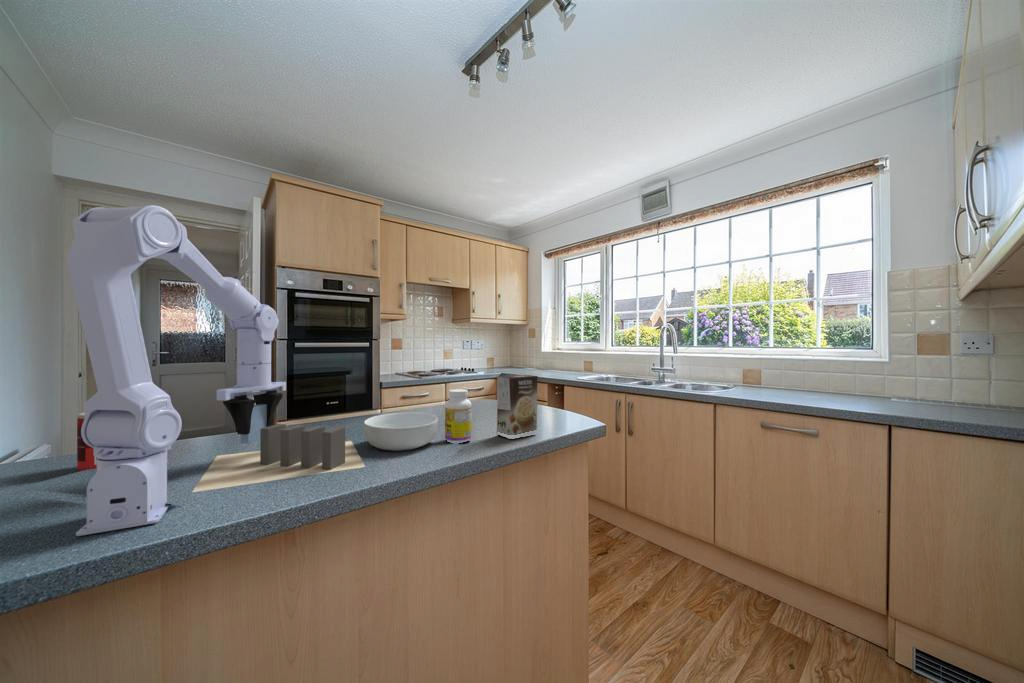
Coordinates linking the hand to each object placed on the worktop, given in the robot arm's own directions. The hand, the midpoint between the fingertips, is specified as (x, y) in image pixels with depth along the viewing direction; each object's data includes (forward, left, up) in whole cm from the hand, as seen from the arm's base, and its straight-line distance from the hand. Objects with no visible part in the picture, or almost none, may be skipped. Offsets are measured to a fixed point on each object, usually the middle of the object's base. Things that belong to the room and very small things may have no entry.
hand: (254, 431), depth 77 cm
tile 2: (-3, -3, -6) cm, 7 cm away
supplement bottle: (-2, -43, -7) cm, 44 cm away
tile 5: (-12, -14, -6) cm, 19 cm away
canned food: (+12, +25, -7) cm, 29 cm away
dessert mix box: (-4, -59, -7) cm, 60 cm away
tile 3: (-6, -7, -6) cm, 11 cm away
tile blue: (0, 0, -2) cm, 2 cm away
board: (-4, -6, -7) cm, 10 cm away
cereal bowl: (-2, -29, -7) cm, 30 cm away
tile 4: (-9, -10, -6) cm, 15 cm away
